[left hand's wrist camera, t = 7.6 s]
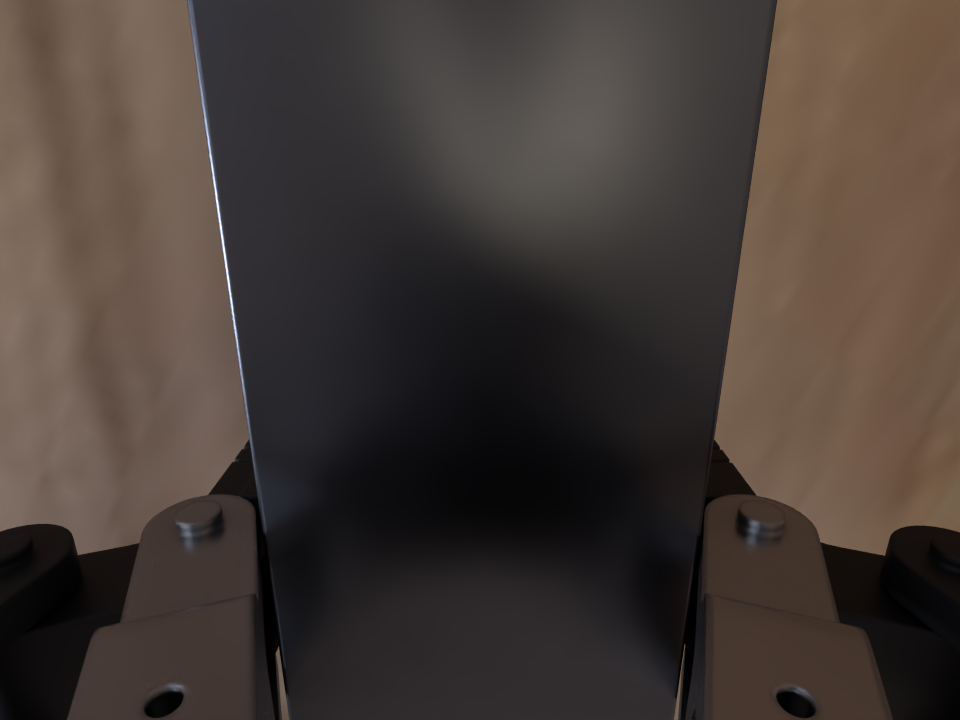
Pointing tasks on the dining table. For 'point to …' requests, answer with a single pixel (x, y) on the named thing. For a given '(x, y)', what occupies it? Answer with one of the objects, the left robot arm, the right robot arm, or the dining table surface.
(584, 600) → the bar
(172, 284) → the dining table surface
